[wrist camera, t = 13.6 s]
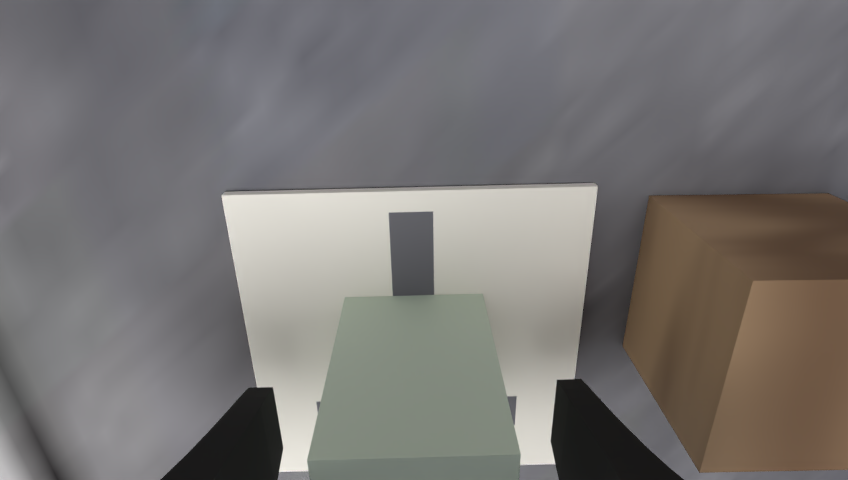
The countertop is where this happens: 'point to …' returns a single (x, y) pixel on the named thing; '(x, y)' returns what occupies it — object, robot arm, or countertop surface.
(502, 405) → the sage pillar
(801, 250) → the walnut block
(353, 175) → the countertop surface
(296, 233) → the letter card
